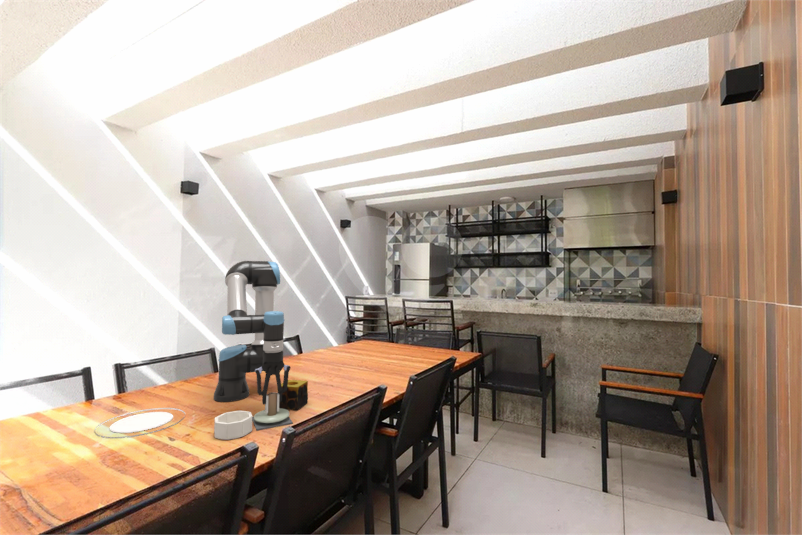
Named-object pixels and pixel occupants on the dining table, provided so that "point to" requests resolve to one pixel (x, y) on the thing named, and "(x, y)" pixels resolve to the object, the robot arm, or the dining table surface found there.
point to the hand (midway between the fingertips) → (271, 411)
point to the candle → (294, 395)
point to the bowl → (232, 425)
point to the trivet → (271, 424)
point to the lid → (271, 411)
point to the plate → (141, 422)
